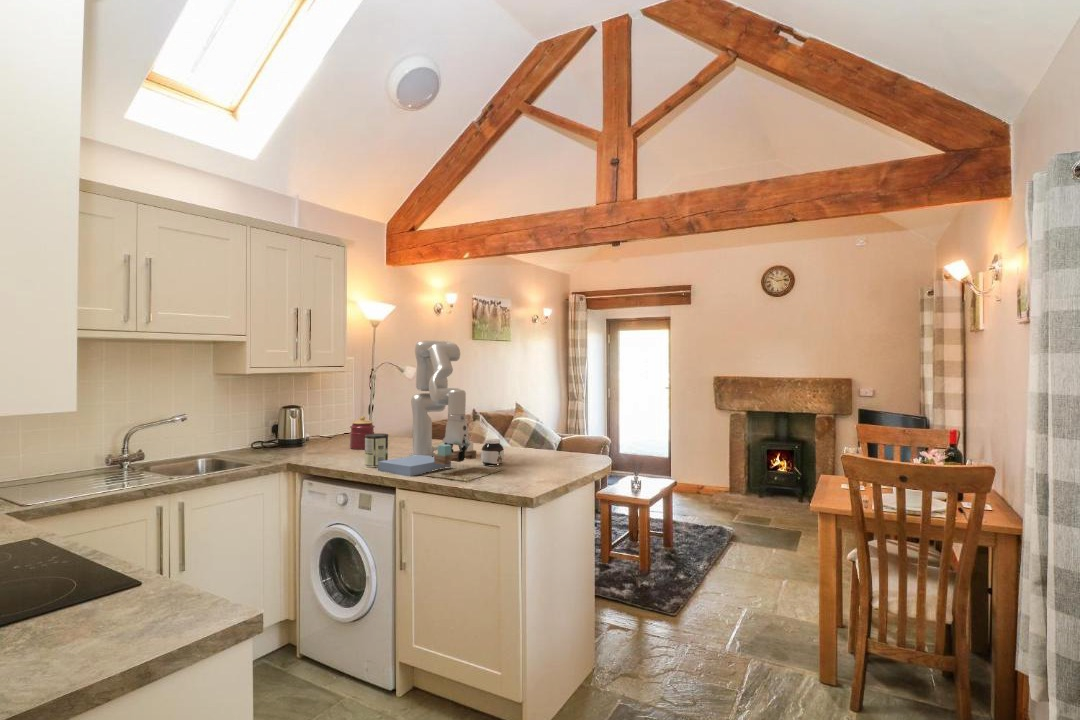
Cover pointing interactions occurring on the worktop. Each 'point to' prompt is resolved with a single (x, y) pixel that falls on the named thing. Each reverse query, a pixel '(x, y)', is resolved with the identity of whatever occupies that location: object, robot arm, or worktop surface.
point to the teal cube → (444, 450)
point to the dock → (410, 465)
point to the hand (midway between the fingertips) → (455, 459)
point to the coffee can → (375, 449)
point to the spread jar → (492, 452)
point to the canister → (360, 432)
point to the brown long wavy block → (453, 457)
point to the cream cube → (470, 447)
